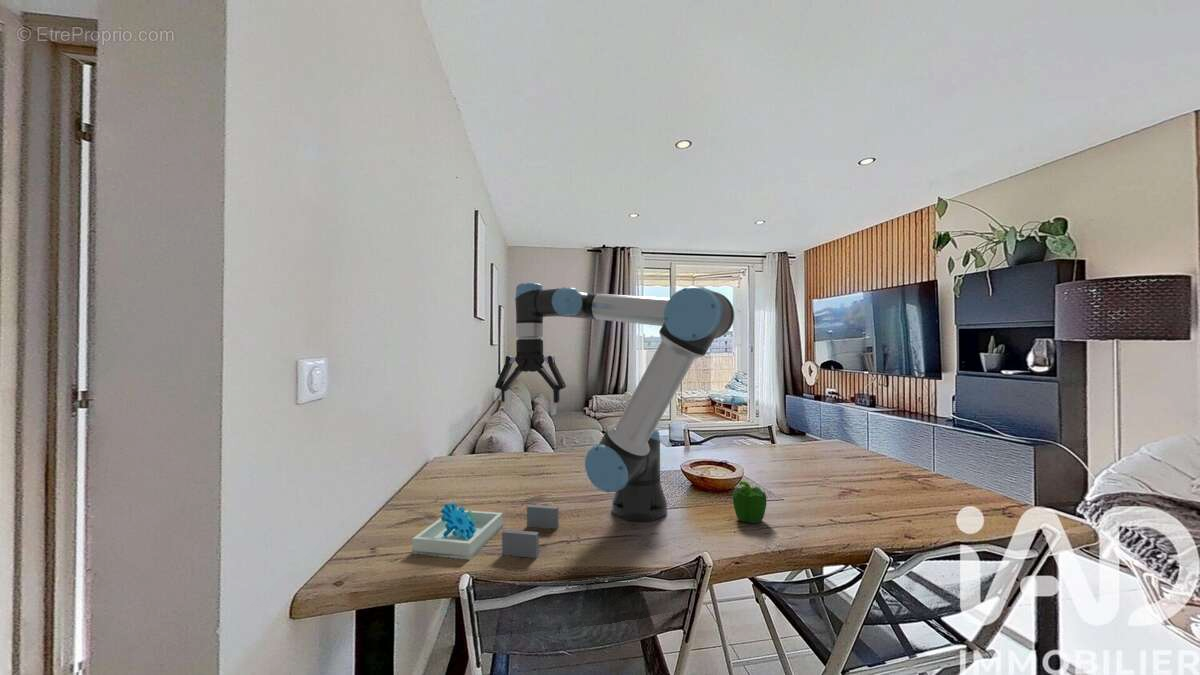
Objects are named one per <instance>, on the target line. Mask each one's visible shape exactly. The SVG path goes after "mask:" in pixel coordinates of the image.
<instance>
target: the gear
mask: <svg viewBox="0 0 1200 675" xmlns="http://www.w3.org/2000/svg"><path fill="white" fill-rule="evenodd" d="M457 507H458V504H457V503H456V502H453V503H446V504H445V505H444V507H442V509H441V510H440V512H441V514H442V515H441V517H440V518H441V520H442V521H446V522H448V523H447V524H446V525H445V527H446V529H447V530H446V531H445V532H444V533H443V535H444V536H445V537H446V536H447V535H448V534H449V533H450V532H451V531H452V530H453V529H455V530H454V531H453V532H452V534H453V535H454V536H455V537H456V536H457V535H458V534H459V532H461V533H462V535H461V536H460V538H461V539H463V540H465V539H466V538H468V539H471V538H472V537H473V534H474V533H475V532H476V529H475V528H474V526H475V521H472V520H470V518H471V517H472V516H471V514H472V511H473V510H469V511H468V513H467V514H464V513H463V512H464V511H465V510H466V508H465V507H464V506H462V505H461V506H460V507H459V508H458V509H457ZM466 533H467V535H466Z"/></svg>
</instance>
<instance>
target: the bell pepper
mask: <svg viewBox="0 0 1200 675" xmlns="http://www.w3.org/2000/svg"><path fill="white" fill-rule="evenodd" d="M738 483H739V485H740V486H741V487H736V488H734V489H733V491H732V503H733V509H734V512H735V515H736V518H737V519H738V520H739V521H741V522H745V523H746V522H749V523H752V524H759V523H761V522H762V521H763V519H764V516H765V513H766V509H767V494H766V492H765V491H762V489H761V488H760V487H759V486H757V487H751V485H750V483H749V482H746V481H743V480H741V481H740V480H739V481H738ZM742 485H743V486H742Z"/></svg>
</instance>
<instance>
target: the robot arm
mask: <svg viewBox="0 0 1200 675" xmlns="http://www.w3.org/2000/svg"><path fill="white" fill-rule="evenodd" d="M514 300H515V317H516V318H515V319H516V320H515V337H516V338H517V340H516V341H515V342H516V343H515V344H516V345H515V346H516V348H515V349H516V350H515V351H516V355H515V356H513V355H507V356H505V361H504V364H503V368H502V370H501V371H500V374H499V376H498V378H497V380H496V383H495V385H494V387H495V389H499V390H500V391H501V402H503V403H504V415H508V414H511V413H512V390H511V389H509V388H510V387H511V386H512V384H514V382H515V381H516V380H517V378H518V377H519V376H520V375H521V373H526V372H531V373H534V372H537V373H538V374H539V375H540V376H541V377H542V378H543V380H545V382H546V383H547V384H548V386H549V387H550V388H551V390H550V416H555V415H557V404H558V403H560V391H562V390H564V389H566V387H567V385H566V383H565V381H564V379H563V376H562V374H561V372H560V371H559V368H558V365H557V364H556V360H555V356H554V355H548V356H545V355H544V340H543V339H542V338H543V337H544V318H548V317H549V318H550V317H552V318H553V317H562V318H563V317H564V318H565V317H566V318H579V319H587V320H601V321H602V320H603V321H611V322H620V323H629V324H638V325H650V326H657V327H660V326H661V328H660V329H659V331H658V332H659V336H660V339H661V341H660V344H659V345H658V347H657V348H656V351H655V353H654V354H653V357H651V360H650V362H649V363H648V365H647V367H646V369H645V372H644V373H643V375H642V377H641V378H640V380H639V383H638V384H637V386H636V387H635V390H634V391H633V394H632V395H631V397H630V399H629V400H628V403H627V404H626V407H625V408H624V410H623V412H622V414H621V415H620V417H619V420H618V421H617V422H616V423H614V424H610V425H609V426H607V428H606V430H605V433H604V434H603V436H602V438H601V439H600V441H599V443H598V444H595V445H593V446H592V447H591V448H590V449H589V450H588V451H587V453H586V455H585V458H584V469H585V471H586V475H587V478H588V480H589V481H590V482H591V484H592V485H593V486H594V487H595V488H597V489H598V490H600V491H601V492H604V493H614V495H613V498H612V502H611V511H612V513H613V515H615V516H616V517H617V518H620V519H623V520H626V521H631V522H632V521H633V522H650V521H655V520H659V519H662V518H664V517H665V516H666V515H667V513H668V502H667V499H666V497H665V492H664V491H663V490H664V489H663V488H662V487H663V486H662V485H661V438H660V432H659V430H658V429H656V428H657V427H658V425H659V422H660V421H661V419H662V418H663V415H664V414H665V413H666V410H667V408H668V407H669V405H670V403H671V402H672V400H673V398H674V396H675V394H676V392H677V391H678V389H679V387H680V386H681V384H682V383H683V380H684V379H685V377H686V376H687V373H688V372H689V370H690V368H691V366H692V364H693V363H694V362H695V360H696V359H699V358H702V357H705V356H706V354H707V352H708V350H709V348H710V347H711V345H712V343H713V341H714V340H715V339H719V338H721V337H723V336H724V335H725V334H727V333H728V331H730V330H731V328H732V326H733V323H734V321H735V310H734V307H733V304H732V303H731V301H730V299H728V298H727V296H725V295H723V294H722V293H720V292H717V291H714V290H712V289H708V288H706V287H703V286H688V287H684V288H681V289H679V290H678V291H676V292H674V293H673V294H672V295H671V296H669V297H658V296H657V297H656V296H642V295H641V296H639V295H638V296H637V295H627V294H625V295H624V294H609V293H594V292H583V291H578V289H576V288H575V287H560V288H558V287H557V288H549V289H548V288H547V289H543V285H542V284H541V283H536V282H535V283H534V282H523V283H519V284H517V286H516V287H515V298H514ZM544 362H546V364H548V367H549V369H550V371H551V373H552V375H553V377H554V378H553V377H552V376H551V374H550V373H549V372H548V371H547V370H546V368H545V367H544V365H543V364H544ZM515 363H516V365H517V366H516V367H515V368H514V371H513V372H512V373H511V374H510V376H509V377H508V374H509V372H510V370H511V368H512V365H513V364H515ZM507 377H508V378H507Z"/></svg>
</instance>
